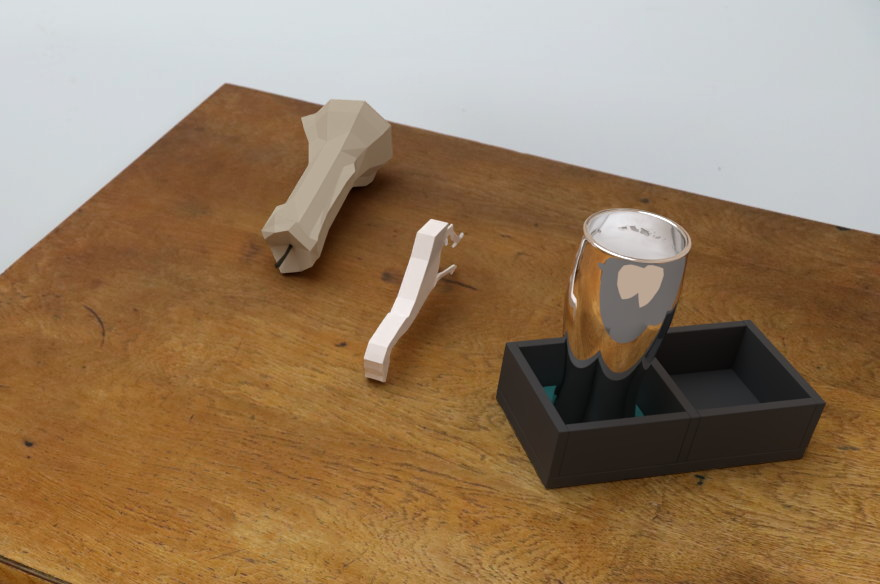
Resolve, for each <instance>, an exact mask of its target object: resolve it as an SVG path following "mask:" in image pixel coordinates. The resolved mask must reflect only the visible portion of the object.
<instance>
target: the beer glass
mask: <svg viewBox="0 0 880 584" xmlns="http://www.w3.org/2000/svg"><path fill="white" fill-rule="evenodd" d="M691 248H692V239H691V236H690V235H689V233H688V232H687V231H686V229H685V228H683V227H682V226H681V225H679V224H678V223H677V222H675V221H674V220H672V219H670V218H668V217H666V216H663V215H661V214H658V213H655V212H651V211H647V210H643V209H637V208H626V207H618V208H616V207H615V208H607V209H602V210H600V211H599V210H598V211H596V212H595V213H592V214H591V215H590V216H588V217H587V218H586V219H585V221H584V222H583V226H582V231H581V234H580V237H579V240H578V244H577V246H576V248H575V249H576V250H575V253H574V256H573V259H572V262H571V266H570V270H569V273H568V278H567V283H566V288H565V293H564V300H563V301H564V302H563V316H562V337H563V358H562V368H561V373H560V377H559V380H558V383H557V385H556V388H555V390H554V392H553V394H552V396H551V398H550V400H551V402H552V404H553V405H554V407H555V409H556V410H557V412H558V414H559V415H560V417H561V419H562V420H563V422H564V424H565V425H567V424H576V423H586V422H595V421H604V420H613V419H622V418H631V417H635V415H636V400H637V395H638V391H639V388H640V385H641V382H642V380H643V378H644V376H645V374H646V372H647V370H648V368H649V366H650V365H651V363H652V361H653V359H654V357H655V355H656V353H657V352H658V350H659V348H660V346H661V344H662V342H663V340H664V338H665V336H666V334H667V332H668V329H669V327H671V325H672V322H673V320H674V317H675V313H676V311H677V308H678V305H679V301H680V297H681V294H682V289H683V286H684V281H685V276H686V271H687V265H688V260H689V254H690V250H691Z"/></svg>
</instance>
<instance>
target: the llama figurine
mask: <svg viewBox="0 0 880 584" xmlns="http://www.w3.org/2000/svg"><path fill="white" fill-rule="evenodd" d="M464 235H465V233H464V232H460V234H459V235H458V234H457V233H456V232H455V230H454V224H453V223H450V225H449V222H446V221H442V220H438V219H433V218H430V219H429V220H428V221H427V222H426V223H425V224H423V226H422V227H420V229H419V230H418V231H417V232H416V235H415V239H414V242H413V246H412V251H411V254H410V258H409V261H408V264H407V267H406V270H405V273H404V276H403V278H402V281H401V284H400V287H399V291H398V294H397V296H396V298H395V301H394V303H393V305H392V307H391V309H390V312H388V313H387V314H386V315H385V317H384V318H383V319H382V321H381V322H380V324H379V325H378V327H377V328H376V330H375V331H374V333H373V335H372V336H371V337H370V338H369V341H368V343H367V346H366V349H365V353H364V356H363V370H364V377H365V378H368V379H372V380H376V381H379V382H381V383H386V382H387V375H388V371H389V367H390V365H391V359H390V357H391V354H392V350H393V348H394V347H395V346H396V344H397V343H398V341H399V340H400V339H401V337H402V336H404V334H406V332H407V331H408V330H409V328H411V326H412V325H413V322H415V320H416V318H417V316H418V315H419V313H420V311H421V309H422V307H423V306H424V304H425V302H426V300H427V299H428V297H429V295H430V293H431V292H432V291H433V290H434V288H435V287H436V285H437V283H438V282H439V281H440V279H442V278H444V277H445V276H446V275H448V274H449V275H451V276H453V274H454V273H455V270H456V269H457V267H458V266H457V265H456V264H454V263H453V264H452V265H450V266H449V267H447V268H445V269H444V270H442V271H441V272H439V271H440V270H439V269H440V265H441V257H442V256H441V254H442V249H443V247H444V246H445V247H446V246H448V245H449V242H448V241H449V240H448V238H449V239H450V241H452V242H453V243H452V245H451V248H453V249H454V248H455V247H457V245H458V244H459V243H460V241H461V240H462V238H463V237H464Z"/></svg>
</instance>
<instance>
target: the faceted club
mask: <svg viewBox="0 0 880 584" xmlns="http://www.w3.org/2000/svg"><path fill="white" fill-rule="evenodd" d="M300 119H301V122H302V126H303V131H304V133H305V136H306V139H307V141H308V164H307V166H306V168H305V170H303V173H302V175H301V177H300V178H299V180H298V181H297V182H296V185H295V187H294V188H293V190H292V191H291V194H290V195H289V197H288V198H287V200H286V201H285V202H284V203H282V204H280V205H276V206H275V208H274V210H273V212H272V213H271V214H270V216H269V217H268V219H267V221H266V222H265V224H264V225H263V227H262V229H261V234H262V237H263V239H264V241H265V242H266V244H267V245H268V246H269V248H270V250H271V253H272V255H273V257H274V260H275V264H274V267H275V269H279V272H280V274H286V273H287V274H288V273H298V272H304V271H305V270H307V269H309V268H313V266H314V264H315V263H316V261H317V260H318V259H319V258H321V255H322V251H323V249H324V245H325V242H326V239H327V237H328V233H329V230H330V229H331V227H332V225H333V223H334V221H335V219H336V218H337V215H338V213H339V212H340V210H341V208H342V206H343V204H344V202H345V200H346V199H347V196H348V195H349V193H350V191H351V190H352V188H354V187H355V188H356V187H366V186H368V185H370V184H371V183H373V182H374V179H375V177H376V175H377V172H378V171H379V170H381V168H383V166H385V165H386V164H387V163H388V162H389V161H390V160H392V158H393V157H394V154H393V153H394V152H393V137H392V125H391V123H390V122H388V121H387V120H386V119H385V118H384V117H383V116H382V115H381V114H380V113H379V112H378V111H377V110H376V109H374V107H372V106H371V105H370V103H368V101H366V100H360V99H358V100H357V99H356V100H355V99H339V98H337V99H336V98H330V99H328V101H327V102H326V103H325V104H324V105H323V106H322V107H321V108H319V110H318V111H317V112H315V113H312V114H308V115H304V116H301V117H300Z"/></svg>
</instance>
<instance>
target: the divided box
mask: <svg viewBox="0 0 880 584" xmlns="http://www.w3.org/2000/svg"><path fill="white" fill-rule="evenodd" d="M562 358H563V336H560V337H549V338H538V339H537V338H536V339H528V340H527V339H526V340H519V341H518V340H516V341H506V342H505V346H504V351H503V355H502V361H501V365H500V371H499V377H498V383H497V389H496V393H495V399H496V401H497V403H498V404H499V407H500V408H501V410H502V412H503V413H504V415H505V417H506V420H507V421H508V422H509V424H510V426H511V428H512V430H513V432H514V433H515V435H516V438H517V439H518V441H519V442H520V445H521V447H522V449H523V451H524V452H525V454H526V455H527V457H528V459H529V461H530V463H531V464H532V467H533V468H534V470H535V472H536V474H537V476H538V477H539V479H540V482H541V483H542V485H543V487H544V489H545V490H549V489H557V488H559V489H560V488H567V487H576V486H583V485H590V484H591V485H592V484H600V483H608V482H615V481H623V480H624V481H625V480H632V479H641V478H649V477H656V476H666V475H674V474H681V473H682V474H684V473H691V472H700V471H707V470H715V469H716V470H717V469H724V468H732V467H741V466H742V467H743V466H749V465H757V464H765V463H767V464H768V463H774V462H775V463H776V462H782V461H783V462H784V461H790V460H791V461H792V460H799V459H803V458H804V456H805V454H806V451H807V450H808V449H807V448H808V447H809V444H810V442H811V440H812V438H813V435H814V433H815V431H816V428H817V426H818V424H819V421H820V419H821V416H822V414H823V413H824V410H825V407H826V404H827V402H826V400H825V399H824V398H823V397H822V396H821V395H820V394H819V393H818V392H817V391H816V390H815V389H814V387H813V386H812V385H811V384H810V383H809V382H808V381H807V379H805V378H804V376H803V375H802V374H801V373H800V372H799V370H797V369H796V368H795V366H793V364H792V363H791V362H790V361H789V360H788V359H787V358H786V357H785V356H784V355H783V353H782V352H781V351H779V349H778V348H777V347H776V346H775V345H774V344H773V343H772V341H771V340H770V339H769V338H768V337H767V336H766V335H765V334H764V333H763V331H762V330H761V329H760V328H759V327H758V326H757V325H756V324H755V323H754V322H753V320H751V319H742V320H732V321H722V322H712V323H700V324H691V325H690V324H689V325H679V326H670V327H669V329H668V332H667V334H666V336H665V338H664V340H663V342H662V344H661V346H660V348H659V350H658V352H657V353H656V355H655V357H654V359H653V361H652V363H651V365H650V366H649V368H648V370H647V372H646V374H645V376H644V378H643V380H642V382H641V385H640V388H639V391H638V395H637V400H636V415H635V417H631V418H622V419H613V420H604V421H595V422H586V423H576V424H567V425H565V424H564V422H563V420H562V419H561V417H560V415H559V414H558V412H557V410H556V409H555V407H554V405H553V404H552V402H551V400H550V398H551V396H552V394H553V392H554V390H555V388H556V385H557V383H558V380H559V377H560V373H561V368H562Z"/></svg>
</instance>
